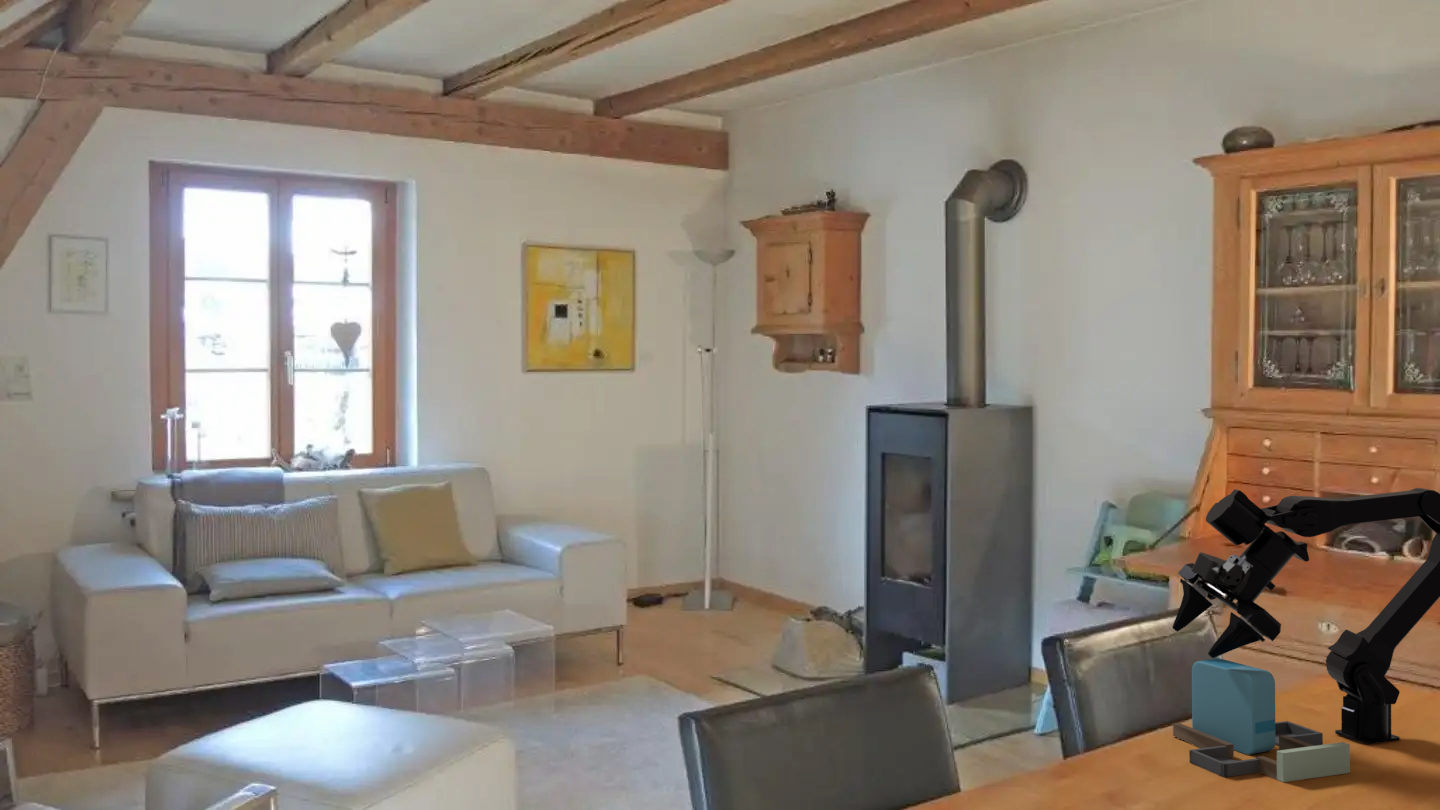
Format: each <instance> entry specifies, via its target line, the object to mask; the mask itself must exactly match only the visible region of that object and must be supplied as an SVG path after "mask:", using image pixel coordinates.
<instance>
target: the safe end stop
mask: <svg viewBox="0 0 1440 810" xmlns="http://www.w3.org/2000/svg"><path fill="white" fill-rule="evenodd" d="M1350 752H1351V751H1350V743H1347V742H1344V741H1341V742H1340V741H1339V742H1333V743H1324V744H1323V745H1317V746H1309V747H1302V748H1294V749H1287V750H1279V749H1278V750H1276V761H1277V779H1276V781H1279V782H1282V783H1288V782H1294V781H1300V780H1301V781H1302V780H1307V779H1308V780H1309V779H1315V778H1323V777H1329V776H1336V775H1337V776H1338V775H1343V774H1350V772H1351V771H1350V770H1351V769H1350V766H1351V763H1350V760H1351V759H1350V755H1351V754H1350Z"/></svg>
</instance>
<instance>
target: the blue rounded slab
mask: <svg viewBox="0 0 1440 810" xmlns="http://www.w3.org/2000/svg"><path fill="white" fill-rule="evenodd" d="M1191 713H1192V714H1191V720H1192V721H1191V724H1192V725H1191V728H1193V729H1196V730H1198V731H1201V732H1203V733H1206V734H1209V735H1211V736H1214V737H1216V738H1219V739H1221V740H1224V741H1226V742H1229V743H1231V744H1234V750H1235V752H1237V751H1238V752H1237V753H1241V754H1244V755H1247V756H1248V755H1254V754H1255V755H1256V754H1259V753H1260V754H1261V753H1265V752H1271V751H1272V750H1273V749H1274V748H1275V746H1276V745H1275V722H1276V681H1275V677H1274V675H1273V674H1272V673H1271V672H1270V671H1269V670H1266V669H1262V668H1258V667H1255V666H1250V665H1247V664H1243V663H1240V662H1237V661H1236V662H1235V661H1231V660H1227V659H1224V658H1220V657H1218V658H1217V657H1216V658H1211V659H1204V660H1199V661H1195V662H1194V663H1193V664H1192V668H1191Z"/></svg>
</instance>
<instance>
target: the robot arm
mask: <svg viewBox="0 0 1440 810" xmlns="http://www.w3.org/2000/svg"><path fill="white" fill-rule="evenodd" d="M1416 517H1418V518H1419V519H1420V520H1421V521H1422V522H1423V523H1424V524H1425V525H1426V527H1427V528H1429V529H1430V530H1431V531H1432V532H1434V533H1435V535H1434V537H1433V538H1432V540H1431V543H1430V548H1429V551H1428V556H1427V557H1426V560H1425V561H1424V562H1423V563H1422V564H1421V565H1420V566H1419V567H1418V569H1417V570H1416V571H1415V572H1414V573H1413V574H1412V576H1411V577H1410V578H1409V579H1408V580H1407V581H1406V583H1405V584H1403V586H1402V587H1401V588H1400V590H1398V592H1397V593H1396V594H1395V595H1394V596H1393V597H1392V599H1391V600H1390V601H1389V602H1388V603H1387V604H1386V606H1385V607H1384V608H1383V609H1382V610H1381V611H1380V612H1379V614H1377V616H1376V617H1375V618H1374V619H1373V620H1372V621H1371V622H1370V624H1369V625H1368V626H1367V627H1366V628H1365V629H1363V630H1360V631H1358V632H1356V633H1355V632H1353V631H1351V630H1348V629H1345V630H1344V631H1342V632H1341V634H1340V636H1339V638H1338V639H1337V640H1336V642H1335V643H1334V644H1332V645H1330V646H1328V648H1327V649H1328V650H1329V653H1328V654H1327V656H1326V659H1325V664H1326V665H1325V667H1326V671H1327V673H1328V675H1329V676H1330V677H1331V678H1332V679H1333V680H1334V681H1336V684H1337V686H1338V689H1339V690H1340V691H1341V692H1344V693H1346V694H1345V695H1343V696H1342V706H1341V708H1340V709H1341V710H1340V711H1341V714H1340V715H1341V721H1340V722H1341V729H1336V730H1334V733H1335V734H1336V735H1338V736H1341V737H1344V738H1347V739H1350V740H1353V741H1356V742H1358V743H1361V744H1365V745H1375V744H1381V743H1389V742H1396V741H1401V739H1400V736H1399V735H1396V734H1392V705H1396V704H1397V701H1398V698H1399V696H1400V690H1399V689H1398V688H1397V687H1396V686H1395V685H1394V684H1393V683H1392V682H1391V681H1389V680H1388V678H1386V677H1385V676H1386V674H1387V673H1388V671H1389V669H1390V667H1391V664H1392V661H1393V656H1394V652H1395V649H1396V647H1398V645H1399V644H1400V643H1401V642H1402V641H1403V640H1404V638H1405V637H1406V636H1407V635H1408V634H1410V631H1411V630H1412V629H1414V627H1415V626H1416V624H1418V622H1419V621H1420V620H1421V619H1422V618H1423V617H1424V616H1425V614H1426V613H1427V612H1428V611H1429V610H1430V609H1431V608H1432V607H1433V605H1435V603H1437V602H1438V600H1439V599H1440V492H1438V491H1436V490H1435V489H1429V488H1423V487H1416V488H1413V489H1410V490H1402V491H1395V492H1394V491H1393V492H1386V493H1375V494H1374V493H1373V494H1369V495H1367V494H1366V495H1357V496H1352V497H1351V496H1349V497H1341V498H1333V497H1332V498H1330V497H1321V496H1309V495H1306V496H1305V495H1290V496H1285V497H1283V498H1281V500H1280V501H1279V503H1278V504H1274V505H1271V506H1267V507H1263V508H1262V507H1261V508H1260V507H1259V506H1258V505H1257V504H1256V503H1254V502H1253V501H1251V500H1250V499H1249V497H1248V496H1247V495H1246V494H1245V493H1244V492H1243V491H1241V490H1240V489H1233V490H1232V491H1231V493H1229V494H1227V495H1225V496H1224V497H1223V498H1221V499H1220V500H1219V501H1217V502H1215V503H1214V504H1213V505H1212V506H1211V508H1210V509H1209V511H1208V512H1207V515H1206V517H1205V521H1206V523H1208V524H1209V526H1210V527H1212V528H1214V529H1215V530H1216V531H1217V532H1218V533H1220V534H1221V535H1222V536H1223V537H1225V539H1227V540H1229V542H1230V543H1232V545H1234V546H1240V545H1242V544H1244V545H1245V546H1247V545H1248V546H1247V547H1246V548H1245V549H1244V551H1243V552H1242V553H1241V554H1240V555H1239V556H1238V555H1236V554H1234V553H1233V554H1231V555H1229V557H1228V558H1227V559H1223V558H1220V557H1218V556H1213V555H1211V554H1207V553H1205V552H1202V551H1201V552H1199V553H1198V555H1197V557H1196V559H1195V562H1194V563H1193V562H1191V563H1190V562H1189V563H1185V564H1184V565H1183V566H1182V568H1181V569H1180V570H1179V571H1178V573H1177V574H1178V576H1180V577H1181V578H1180V579H1179V582H1180V583H1181V585H1182V590H1183V591H1182V592H1183V596H1182V600H1181V603H1180V606H1179V608H1178V611H1177V613H1176V616H1175V619H1174V621H1173V624H1172V629H1173V630H1174V631H1175V632H1177V633H1178V632H1179V631H1181V630H1182V629H1184V628H1186V627H1187V626H1188V625H1190V624H1191V622H1193V621H1194V620H1196V619H1197V618H1198V617H1199V616H1201V615H1202V614H1203V613H1205V612H1206V611H1207V610H1208V609H1210V608H1211V607H1212V606H1213V603H1212V602H1211V601H1212V600H1215V599H1216V600H1218V601H1220V602H1221V603H1223V604H1224V605H1226V606H1227V607H1229V608H1230V609H1231V610H1233V611H1235V612H1236V613H1237V614H1238V615H1239V616H1240V617H1239V616H1238V615H1237V614H1235V613H1234V612H1232V611H1230V615H1229V624H1228V625H1227V627H1226V628H1224V630H1223V632H1222V633H1221V634H1220V636H1219V637H1218V638H1217V640H1216V641H1215V642H1214V643H1213V645H1212V646H1211V648H1210V649H1209V651H1208V653H1207V654H1208V656H1209V657H1211V659H1216V658H1217V657H1219V656H1222V655H1224V654H1226V653H1229V652H1231V651H1234V650H1236V649H1239V648H1241V647H1245V646H1246V645H1250V644H1253V643H1257V642H1259V641H1260V642H1262V643H1264V642H1265V641H1266V639H1268V640H1269V641H1271V642H1274V640H1276V638H1277V637H1278V636H1279V635H1280V634H1281V630H1282V623H1280V621H1278V620H1277V619H1276V618H1275V617H1274V616H1273V615H1272V614H1270V613H1269V612H1268V611H1267V610H1266V609H1265V608H1263V607H1262V606H1260V605H1259V604H1258V603H1256V602H1255V601H1256V600H1257V599H1258V597H1260V595H1261V594H1262V593H1263V591H1264V590H1265V589H1267V590H1269V591H1273V590H1274V588H1275V587H1276V585H1275V584H1274V583H1273V580H1274V579H1275V578H1276V577H1277V575H1278V574H1280V572H1281V571H1282V570H1283V568H1284V567H1285V566H1286V565H1287V564H1288V563H1289V561H1290V560H1292V558H1293V557H1294V558H1296V559H1298V560H1300V561H1303V562H1304V563H1305V562H1309V561H1310V556H1309V552H1308V543H1306V542H1305V541H1304V542H1303V541H1296V540H1294V538H1292V537H1290V535H1289V534H1287V533H1291V534H1293V535H1297V536H1300V537H1303V538H1314V537H1316V536H1320V535H1324V534H1327V533H1331V532H1334V531H1336V530H1337V529H1340V528H1343V527H1345V526H1348V525H1354V524H1365V523H1371V522H1373V523H1374V522H1379V521H1380V522H1381V521H1390V520H1398V519H1399V520H1400V519H1407V518H1416ZM1267 524H1269V525H1271V526H1275V527H1278V528H1281V529H1282V530H1283V531H1281V530H1280V531H1274V530H1272V528H1270V527H1269V526H1268V525H1267ZM1285 532H1287V533H1285ZM1235 601H1236V602H1235ZM1264 637H1265V638H1266V639H1265V638H1264Z"/></svg>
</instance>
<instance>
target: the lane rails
mask: <svg viewBox="0 0 1440 810" xmlns="http://www.w3.org/2000/svg"><path fill="white" fill-rule="evenodd" d="M1173 736H1175V737H1177V738H1179V739H1178V740H1180V739H1181V740H1180V741H1182V740H1184V741H1183V742H1185V741H1186V742H1185V743H1187V742H1188V743H1187V744H1190V743H1191V744H1190V745H1192V744H1193V745H1192V746H1194V745H1195V746H1194V747H1197V748H1199V747H1200V748H1208V747H1216V746H1226V747H1227V757H1228V758H1231V759H1234V757H1235V756H1234V754H1235V753H1234V744H1231V743H1229V742H1226V741H1224V740H1221V739H1219V738H1216V737H1214V736H1211V735H1209V734H1206V733H1203V732H1201V731H1198V730H1196V729H1193V728H1192V726H1188V725H1185V724H1183V723H1180V722H1178V723H1177V722H1176V723H1172V737H1173ZM1175 737H1174V738H1175ZM1177 738H1176V739H1177ZM1309 746H1314V745H1311V744H1308V743H1305V742H1303V741H1300V740H1297V739H1295V738H1292V737H1289V736H1286V735H1283V736H1279V746H1278V751H1279V750H1287V749H1294V748H1302V747H1309ZM1200 748H1199V749H1200ZM1255 758H1256V759H1259V772H1258V773H1259V774H1263V775H1265V776H1267V777H1270V778H1272V779H1275V780H1277V760H1274V759H1272V758H1269V757H1266V756H1263V755H1261V756H1256V757H1255Z"/></svg>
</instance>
